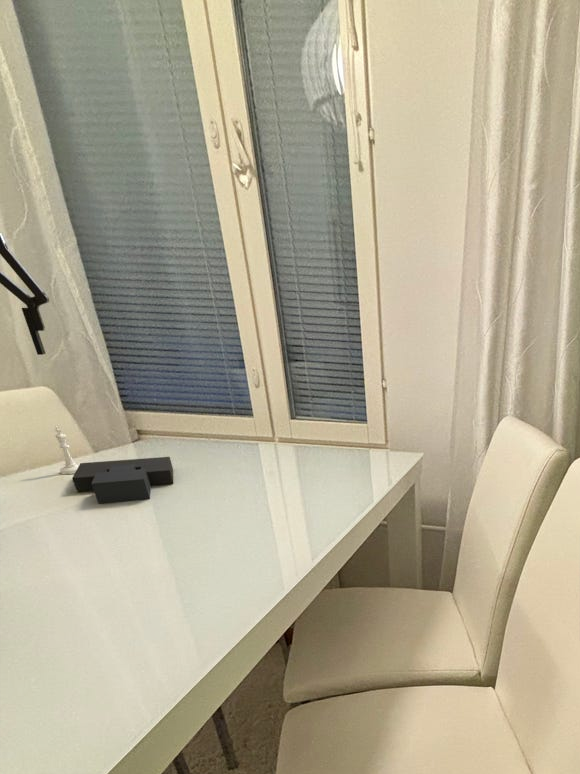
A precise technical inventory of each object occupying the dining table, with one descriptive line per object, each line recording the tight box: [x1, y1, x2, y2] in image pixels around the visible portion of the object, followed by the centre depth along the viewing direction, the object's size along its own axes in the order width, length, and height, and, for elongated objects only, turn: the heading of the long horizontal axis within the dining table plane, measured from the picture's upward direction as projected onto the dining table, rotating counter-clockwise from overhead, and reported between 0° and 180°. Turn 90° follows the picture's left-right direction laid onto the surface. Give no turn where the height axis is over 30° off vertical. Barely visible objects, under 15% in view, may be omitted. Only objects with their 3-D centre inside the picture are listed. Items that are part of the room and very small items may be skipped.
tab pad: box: [92, 465, 152, 505], centre depth 113 cm, size 9×14×4 cm, turn 26°
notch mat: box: [71, 456, 174, 493], centre depth 122 cm, size 18×14×3 cm
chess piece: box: [54, 425, 79, 475], centre depth 125 cm, size 5×5×10 cm
